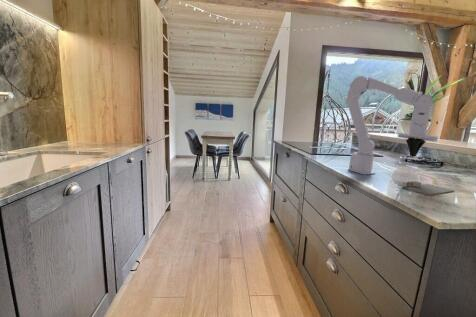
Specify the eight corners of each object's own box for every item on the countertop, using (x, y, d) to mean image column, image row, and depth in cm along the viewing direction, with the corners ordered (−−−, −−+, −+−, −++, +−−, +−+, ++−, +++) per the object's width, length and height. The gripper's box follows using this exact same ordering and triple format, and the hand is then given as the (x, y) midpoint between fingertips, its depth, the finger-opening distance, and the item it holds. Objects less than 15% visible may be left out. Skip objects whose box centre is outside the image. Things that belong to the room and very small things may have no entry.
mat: (402, 187, 92) (402, 186, 92) (427, 184, 98) (427, 183, 98) (428, 195, 84) (428, 194, 84) (453, 191, 90) (454, 190, 90)
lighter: (417, 181, 96) (425, 184, 89) (416, 185, 96) (424, 189, 89) (396, 178, 98) (403, 181, 91) (396, 182, 99) (402, 186, 91)
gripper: (444, 125, 95) (437, 159, 98) (407, 123, 108) (401, 152, 111) (434, 125, 93) (427, 159, 95) (396, 123, 106) (391, 153, 108)
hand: (412, 156), depth 103 cm, fingers closed
